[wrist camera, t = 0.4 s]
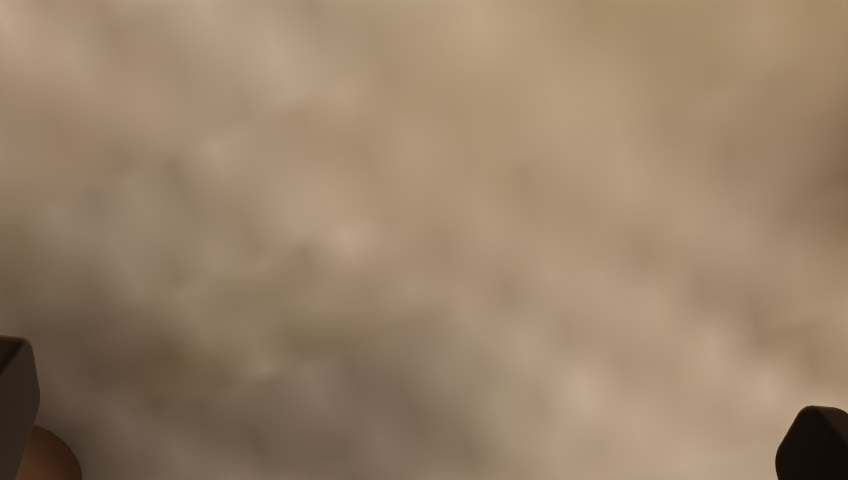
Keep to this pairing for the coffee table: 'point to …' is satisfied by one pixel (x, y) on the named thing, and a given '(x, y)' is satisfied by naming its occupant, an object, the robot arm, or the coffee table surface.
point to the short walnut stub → (47, 458)
